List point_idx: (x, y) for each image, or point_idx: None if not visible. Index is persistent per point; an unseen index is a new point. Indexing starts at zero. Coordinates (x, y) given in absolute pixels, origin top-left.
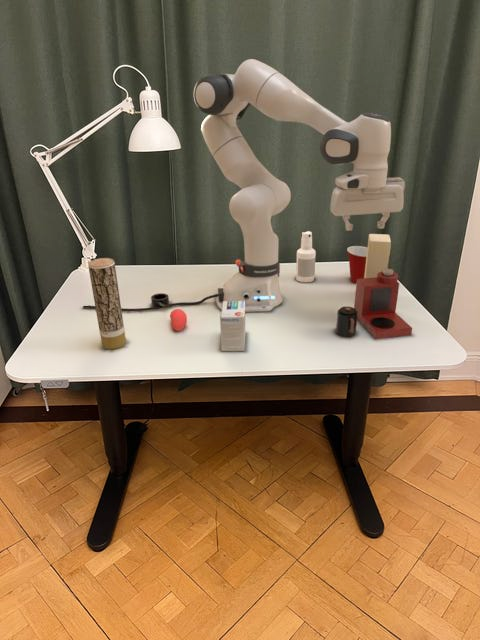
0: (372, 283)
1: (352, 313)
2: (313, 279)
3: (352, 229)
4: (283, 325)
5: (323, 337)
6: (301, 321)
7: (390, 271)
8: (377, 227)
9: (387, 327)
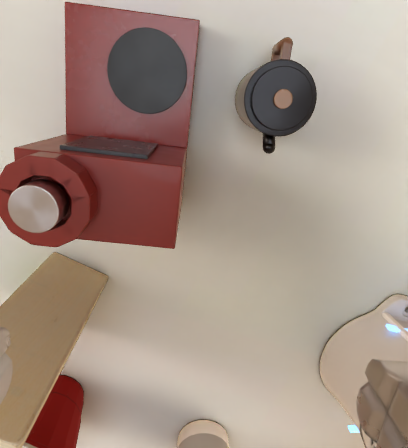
0: (133, 184)
1: (280, 65)
2: (185, 427)
3: (382, 363)
4: (403, 205)
5: (340, 96)
6: (344, 212)
7: (29, 193)
8: (11, 370)
9: (150, 28)
